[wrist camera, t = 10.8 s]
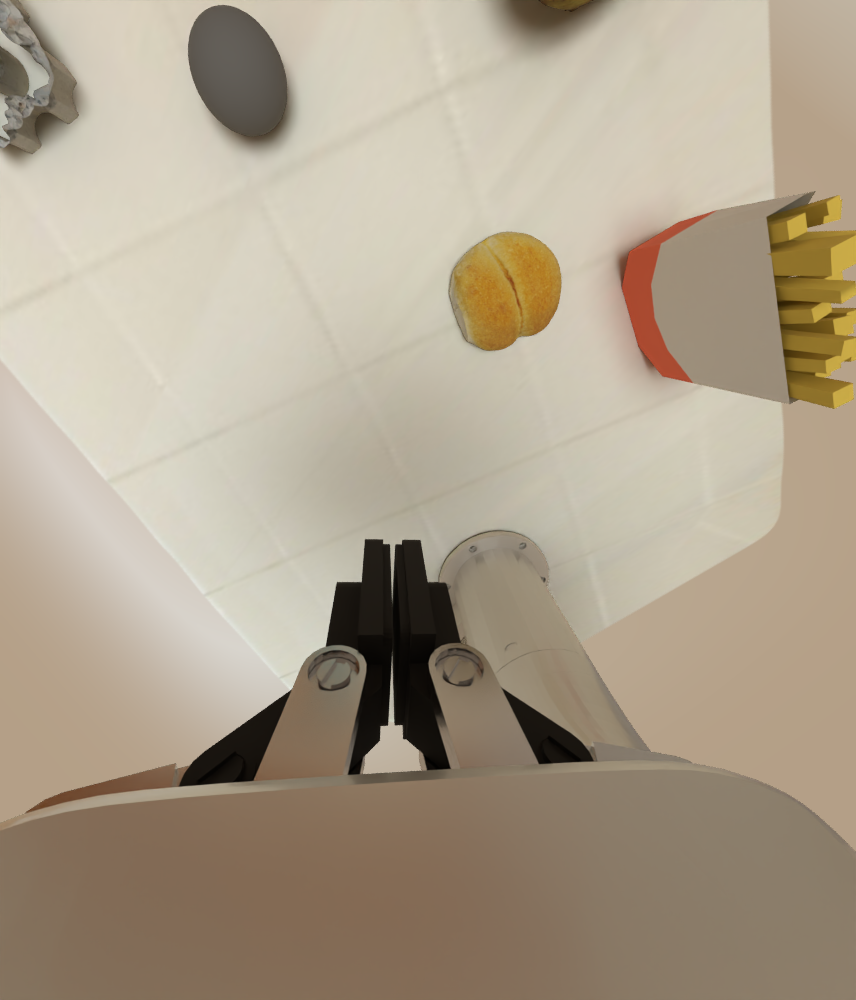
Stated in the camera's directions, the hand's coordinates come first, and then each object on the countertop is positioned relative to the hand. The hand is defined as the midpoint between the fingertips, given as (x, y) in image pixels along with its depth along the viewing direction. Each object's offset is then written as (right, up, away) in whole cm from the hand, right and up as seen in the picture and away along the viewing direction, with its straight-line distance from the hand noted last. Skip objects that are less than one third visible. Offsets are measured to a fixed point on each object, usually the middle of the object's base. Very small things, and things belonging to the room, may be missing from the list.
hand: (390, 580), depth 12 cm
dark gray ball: (-10, +29, +12) cm, 33 cm away
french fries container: (+21, +20, +23) cm, 37 cm away
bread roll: (+7, +20, +22) cm, 31 cm away
